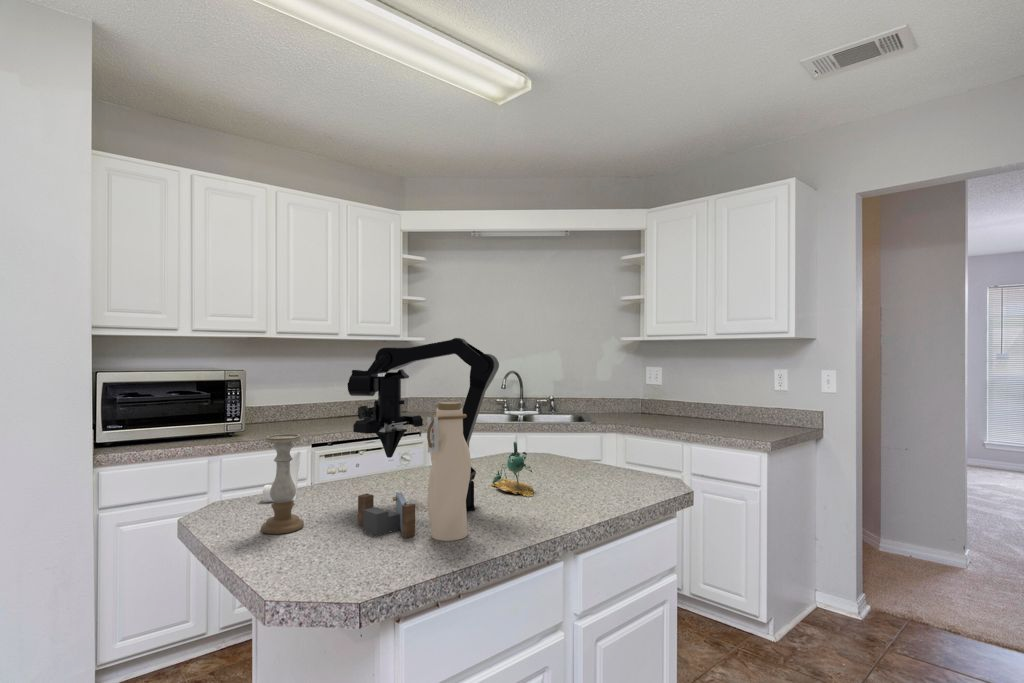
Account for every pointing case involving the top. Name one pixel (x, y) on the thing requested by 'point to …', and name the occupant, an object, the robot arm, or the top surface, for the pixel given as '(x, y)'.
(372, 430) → the robot arm
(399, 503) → the door
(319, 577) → the top surface
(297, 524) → the candle holder
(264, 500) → the plastic part
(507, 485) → the frog figurine
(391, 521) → the dark grey stepped block
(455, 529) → the water bottle
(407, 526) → the frame
